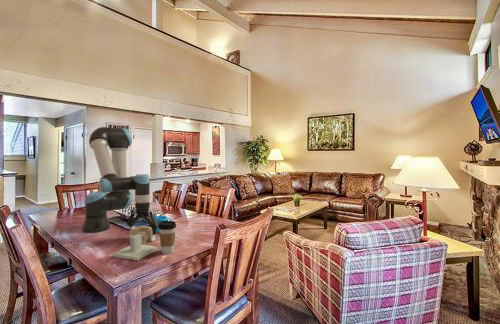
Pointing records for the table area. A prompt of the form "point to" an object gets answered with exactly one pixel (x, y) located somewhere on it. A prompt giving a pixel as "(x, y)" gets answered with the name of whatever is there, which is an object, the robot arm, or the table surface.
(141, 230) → the collar
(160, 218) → the mug
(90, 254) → the table surface
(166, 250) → the coffee cup
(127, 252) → the base
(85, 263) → the table surface
